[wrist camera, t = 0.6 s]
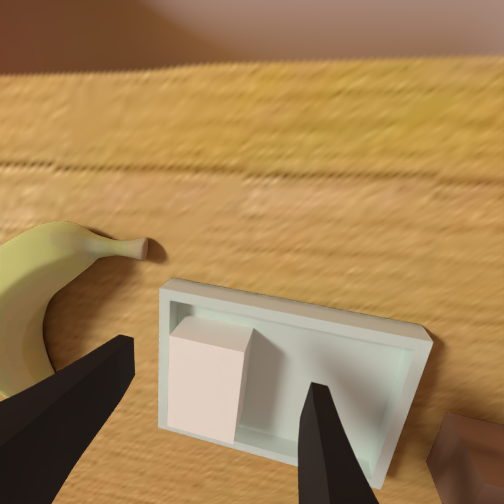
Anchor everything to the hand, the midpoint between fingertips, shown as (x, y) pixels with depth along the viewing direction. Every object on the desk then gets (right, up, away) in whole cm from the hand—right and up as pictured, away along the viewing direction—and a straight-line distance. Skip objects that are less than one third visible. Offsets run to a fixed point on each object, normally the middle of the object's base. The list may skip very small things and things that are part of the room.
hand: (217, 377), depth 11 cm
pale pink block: (-1, -4, +12) cm, 12 cm away
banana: (-14, 0, +14) cm, 20 cm away
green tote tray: (+3, -5, +11) cm, 13 cm away
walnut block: (+18, -9, +10) cm, 22 cm away
